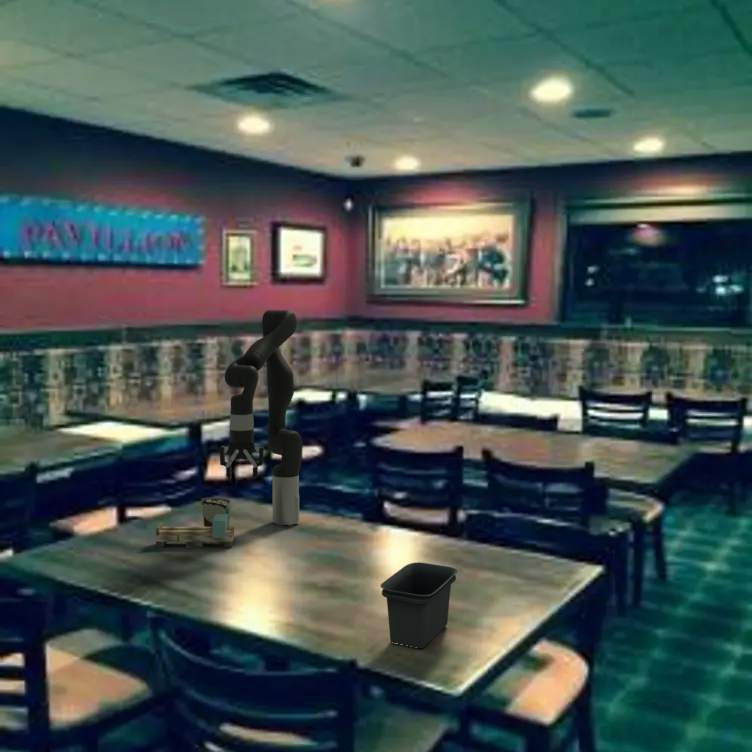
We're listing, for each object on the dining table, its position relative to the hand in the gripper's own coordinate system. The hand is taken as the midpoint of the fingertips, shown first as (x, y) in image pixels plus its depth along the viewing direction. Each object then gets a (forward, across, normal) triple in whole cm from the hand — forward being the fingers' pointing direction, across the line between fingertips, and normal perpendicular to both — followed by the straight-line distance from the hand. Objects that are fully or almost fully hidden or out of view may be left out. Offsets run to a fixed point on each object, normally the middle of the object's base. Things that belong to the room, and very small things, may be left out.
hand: (241, 478), depth 272 cm
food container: (+22, +10, -20) cm, 31 cm away
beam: (+22, +15, 0) cm, 26 cm away
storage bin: (+22, -50, +72) cm, 91 cm away
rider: (+18, +7, 0) cm, 19 cm away
